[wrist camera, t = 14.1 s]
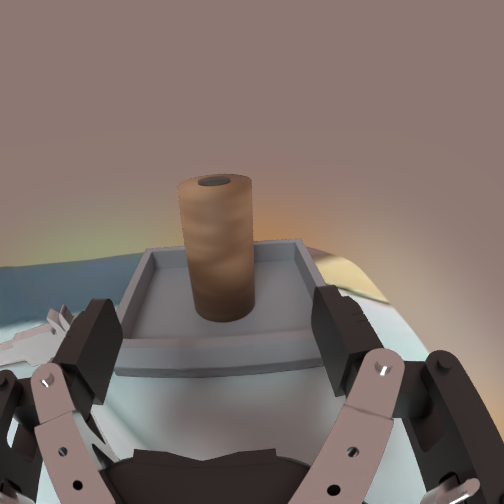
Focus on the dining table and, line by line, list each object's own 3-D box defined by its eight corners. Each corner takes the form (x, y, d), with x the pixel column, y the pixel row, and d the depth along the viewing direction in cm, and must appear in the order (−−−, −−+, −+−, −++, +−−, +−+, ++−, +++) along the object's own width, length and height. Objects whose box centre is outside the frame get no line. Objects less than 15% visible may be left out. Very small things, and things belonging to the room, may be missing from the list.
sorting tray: (116, 375, 17) (101, 346, 16) (151, 273, 30) (146, 248, 28) (342, 362, 18) (350, 332, 17) (299, 263, 31) (301, 238, 29)
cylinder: (192, 324, 21) (170, 193, 16) (197, 287, 25) (182, 175, 21) (257, 320, 21) (254, 187, 17) (252, 284, 26) (248, 170, 21)
